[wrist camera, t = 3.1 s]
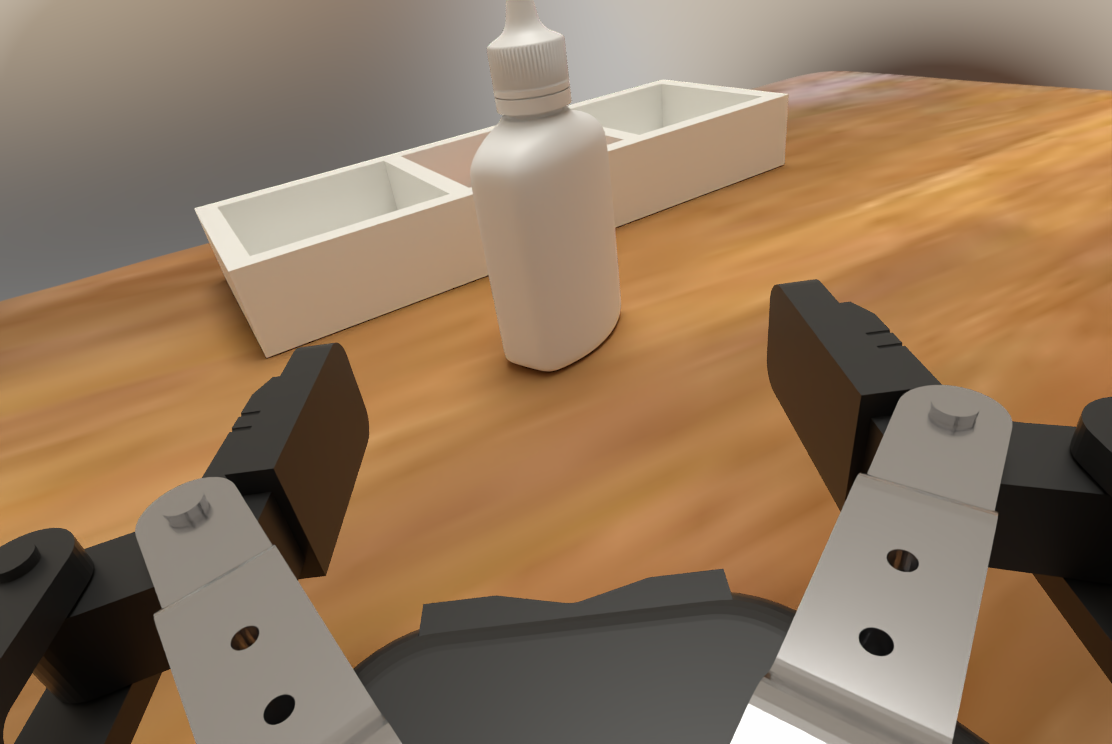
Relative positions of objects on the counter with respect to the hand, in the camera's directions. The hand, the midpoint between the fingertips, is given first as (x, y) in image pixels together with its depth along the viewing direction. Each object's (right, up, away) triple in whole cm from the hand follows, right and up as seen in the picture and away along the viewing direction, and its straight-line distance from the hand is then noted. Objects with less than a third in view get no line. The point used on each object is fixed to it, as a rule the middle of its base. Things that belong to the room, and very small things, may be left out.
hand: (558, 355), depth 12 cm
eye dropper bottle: (0, +1, +14) cm, 14 cm away
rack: (-2, +8, +25) cm, 27 cm away
